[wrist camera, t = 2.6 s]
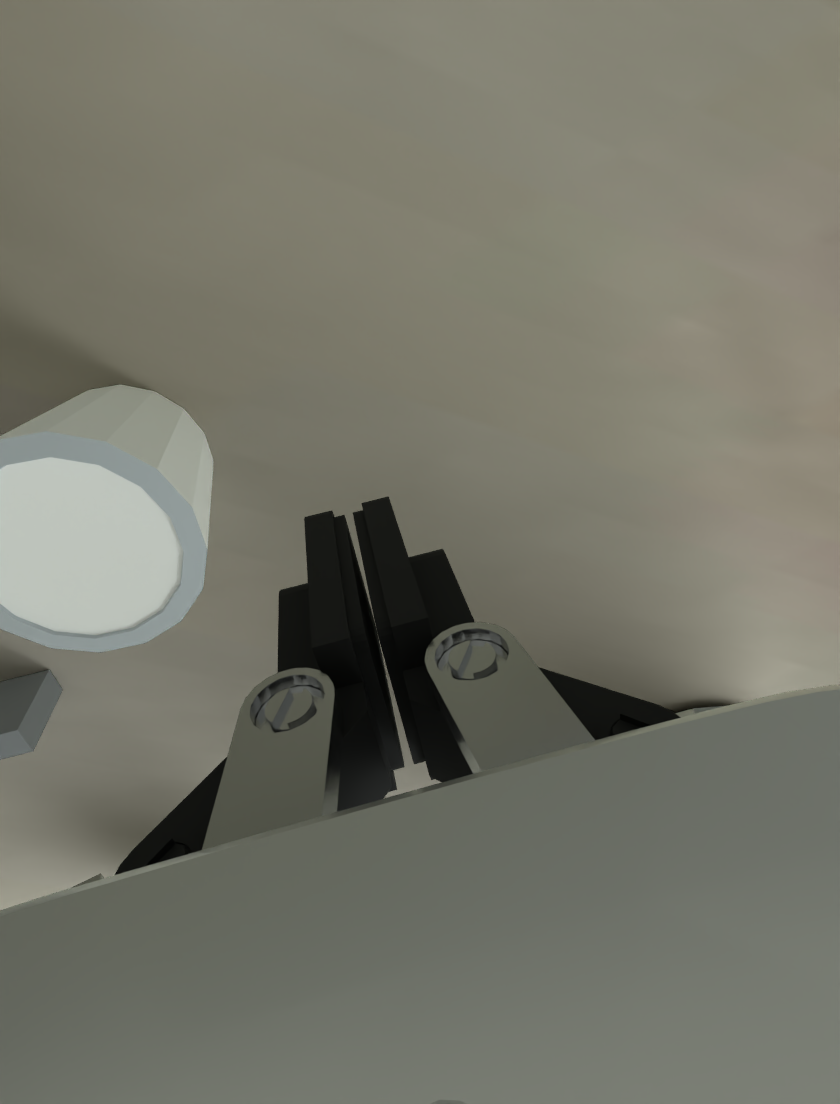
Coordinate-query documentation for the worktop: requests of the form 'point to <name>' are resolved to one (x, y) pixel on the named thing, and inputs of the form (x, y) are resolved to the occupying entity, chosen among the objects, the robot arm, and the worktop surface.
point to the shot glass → (103, 520)
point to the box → (25, 711)
